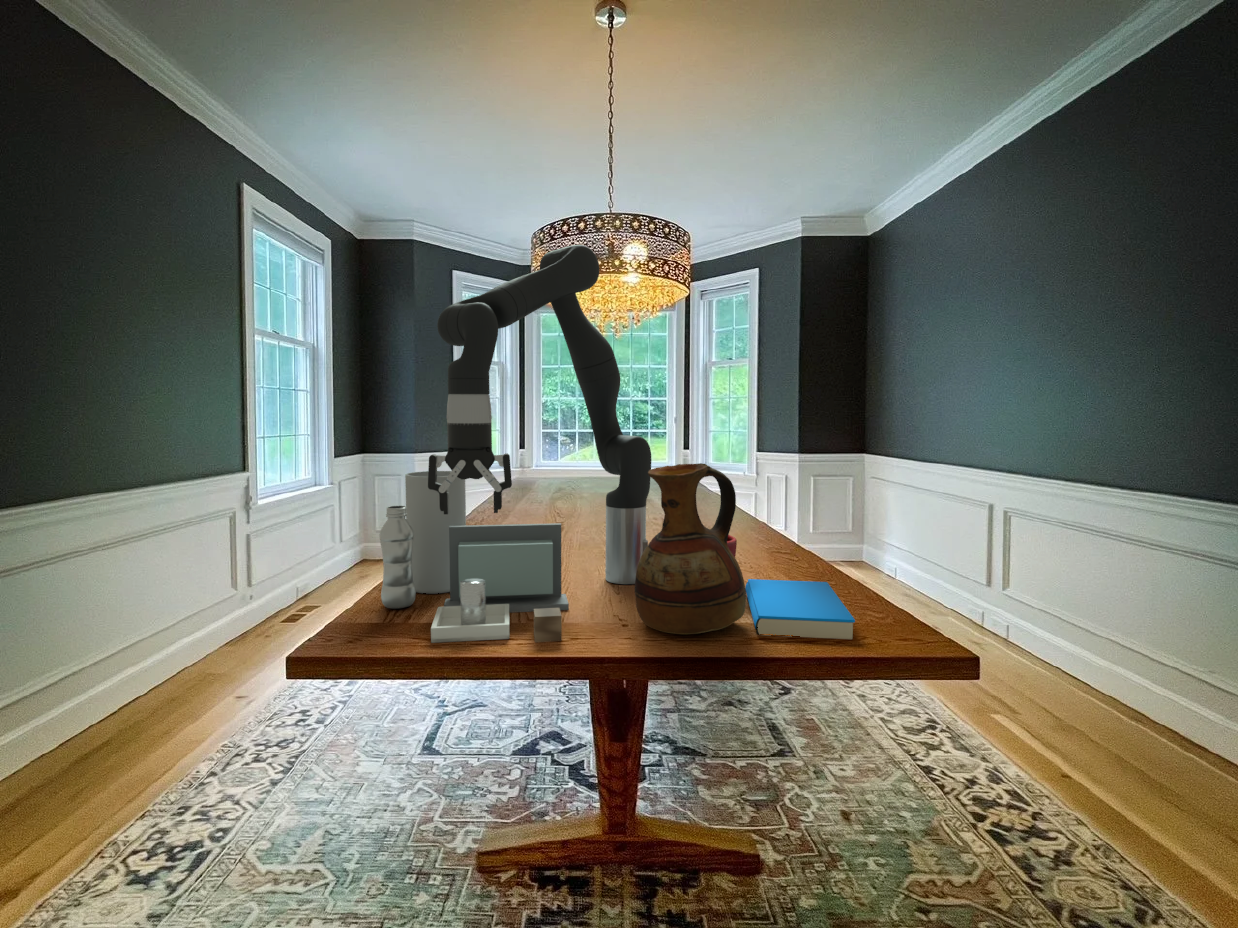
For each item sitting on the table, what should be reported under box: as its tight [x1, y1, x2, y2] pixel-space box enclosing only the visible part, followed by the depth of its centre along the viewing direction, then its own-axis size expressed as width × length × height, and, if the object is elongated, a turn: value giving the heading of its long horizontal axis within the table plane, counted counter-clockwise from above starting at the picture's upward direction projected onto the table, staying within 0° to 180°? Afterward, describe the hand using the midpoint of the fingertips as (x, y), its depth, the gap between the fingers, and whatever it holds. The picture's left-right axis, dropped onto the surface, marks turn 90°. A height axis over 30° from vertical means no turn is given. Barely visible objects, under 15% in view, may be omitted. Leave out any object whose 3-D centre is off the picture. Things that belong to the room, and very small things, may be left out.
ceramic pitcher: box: [634, 463, 747, 635], centre depth 119 cm, size 20×20×30 cm
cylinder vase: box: [404, 470, 467, 595], centre depth 143 cm, size 12×12×25 cm
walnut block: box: [533, 608, 563, 643], centre depth 113 cm, size 4×4×4 cm
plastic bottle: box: [378, 505, 417, 610], centre depth 129 cm, size 6×7×20 cm
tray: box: [430, 604, 510, 644], centre depth 117 cm, size 13×12×2 cm
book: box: [745, 578, 856, 640], centre depth 127 cm, size 17×4×25 cm
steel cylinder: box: [460, 579, 486, 625], centre depth 117 cm, size 4×4×8 cm
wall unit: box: [442, 522, 570, 613], centre depth 130 cm, size 24×7×16 cm, turn 100°
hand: (471, 513), depth 115 cm, fingers open, 8 cm apart
